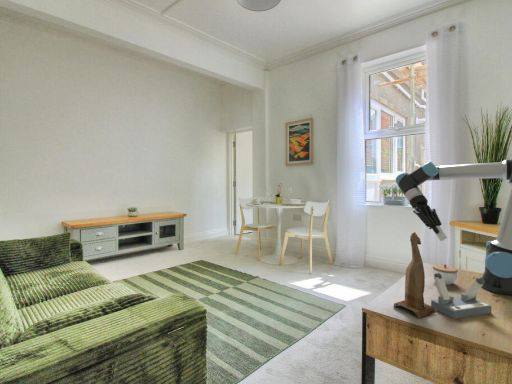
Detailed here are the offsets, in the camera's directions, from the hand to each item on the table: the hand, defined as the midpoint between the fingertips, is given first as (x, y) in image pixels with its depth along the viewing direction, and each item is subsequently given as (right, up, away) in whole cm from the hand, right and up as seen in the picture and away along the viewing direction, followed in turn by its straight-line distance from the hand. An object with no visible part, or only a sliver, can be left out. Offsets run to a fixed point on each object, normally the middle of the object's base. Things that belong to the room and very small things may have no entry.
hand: (443, 239), depth 126 cm
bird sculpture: (-22, -27, -14) cm, 37 cm away
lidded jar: (+11, -25, +16) cm, 32 cm away
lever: (-9, -22, -14) cm, 28 cm away
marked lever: (+3, -22, -11) cm, 25 cm away
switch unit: (-3, -26, -14) cm, 30 cm away
